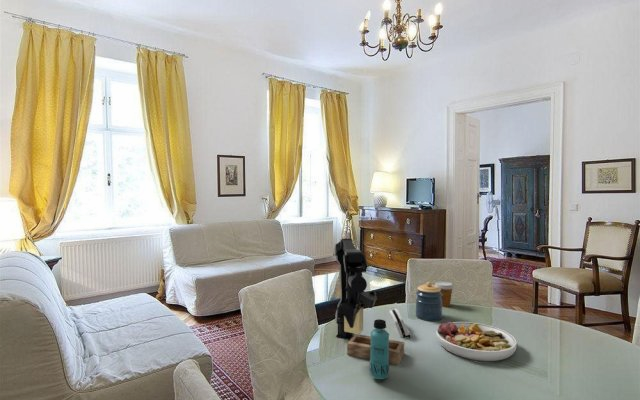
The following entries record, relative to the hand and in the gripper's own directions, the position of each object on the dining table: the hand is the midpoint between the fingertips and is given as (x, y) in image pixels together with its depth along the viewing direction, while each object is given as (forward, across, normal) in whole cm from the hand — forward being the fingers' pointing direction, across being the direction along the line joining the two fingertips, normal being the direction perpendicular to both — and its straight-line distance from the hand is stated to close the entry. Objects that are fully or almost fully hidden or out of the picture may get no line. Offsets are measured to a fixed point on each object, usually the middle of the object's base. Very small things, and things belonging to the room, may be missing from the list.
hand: (353, 325), depth 140 cm
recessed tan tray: (+13, +7, -7) cm, 16 cm away
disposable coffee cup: (+14, +80, -24) cm, 84 cm away
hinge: (+14, +35, -9) cm, 38 cm away
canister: (+14, +58, -19) cm, 62 cm away
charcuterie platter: (+13, +30, -41) cm, 53 cm away
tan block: (+2, 0, 0) cm, 2 cm away
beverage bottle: (+13, -11, -13) cm, 21 cm away
